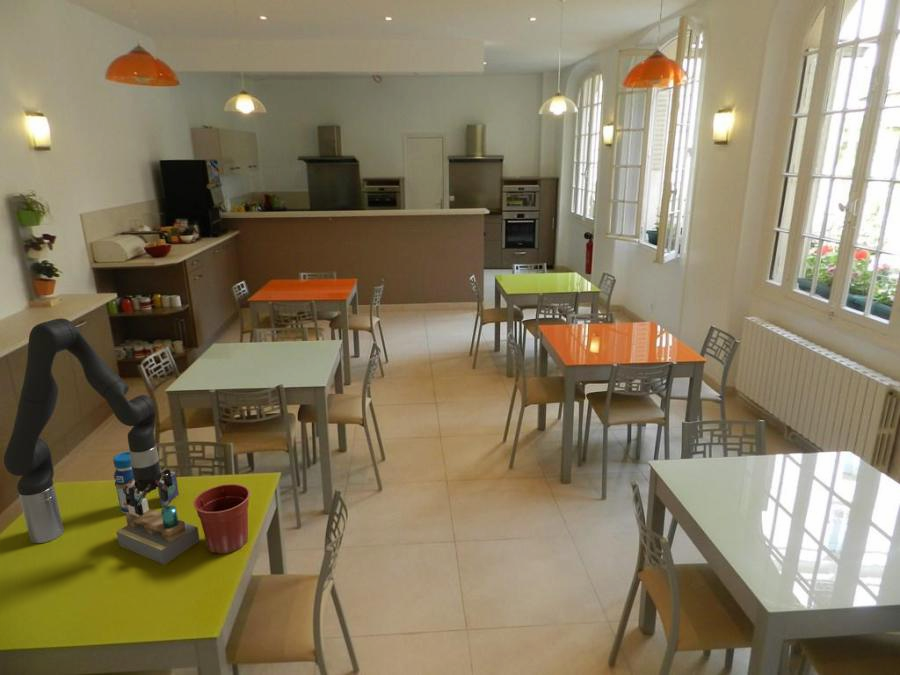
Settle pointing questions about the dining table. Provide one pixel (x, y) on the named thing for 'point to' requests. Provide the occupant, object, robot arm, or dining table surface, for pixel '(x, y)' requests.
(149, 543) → the dock
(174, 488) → the flask
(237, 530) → the flower pot
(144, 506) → the white cube
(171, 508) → the teal canister
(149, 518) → the pallet
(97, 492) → the dining table surface
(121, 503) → the beverage bottle
